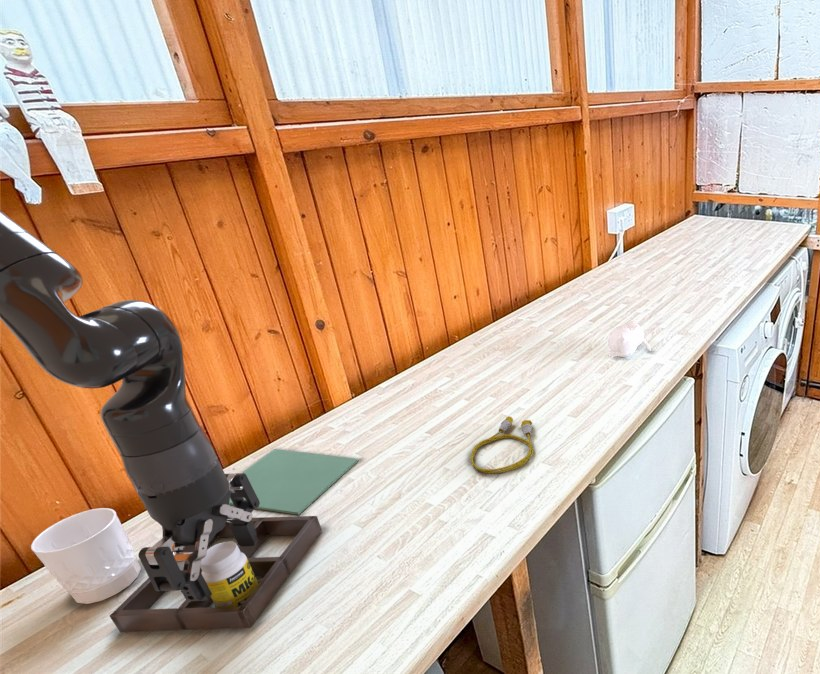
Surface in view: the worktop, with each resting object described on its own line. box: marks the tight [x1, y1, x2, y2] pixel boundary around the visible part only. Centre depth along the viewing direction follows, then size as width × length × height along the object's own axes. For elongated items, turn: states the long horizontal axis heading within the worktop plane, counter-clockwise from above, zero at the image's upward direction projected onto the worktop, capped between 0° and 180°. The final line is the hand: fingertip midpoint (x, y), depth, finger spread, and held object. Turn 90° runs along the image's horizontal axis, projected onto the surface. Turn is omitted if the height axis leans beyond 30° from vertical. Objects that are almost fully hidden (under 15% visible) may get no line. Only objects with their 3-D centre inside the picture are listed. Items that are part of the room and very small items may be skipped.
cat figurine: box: [607, 320, 652, 358], centre depth 134 cm, size 9×11×12 cm
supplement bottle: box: [200, 540, 259, 607], centre depth 68 cm, size 5×5×8 cm
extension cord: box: [470, 415, 534, 474], centre depth 98 cm, size 12×16×2 cm
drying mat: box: [229, 448, 359, 516], centre depth 91 cm, size 18×14×1 cm
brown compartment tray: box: [109, 515, 323, 633], centre depth 72 cm, size 16×16×3 cm
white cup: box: [30, 507, 142, 605], centre depth 70 cm, size 8×8×10 cm
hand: (226, 570), depth 67 cm, fingers open, 8 cm apart
